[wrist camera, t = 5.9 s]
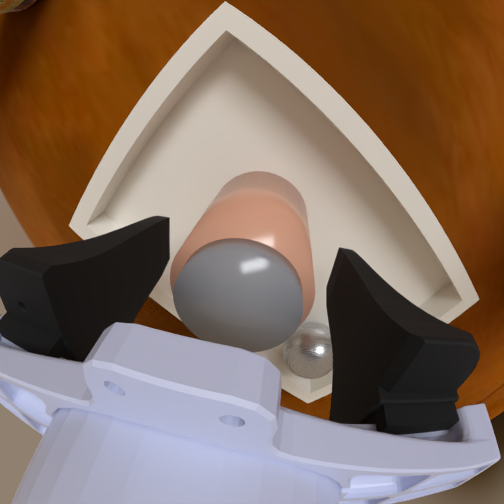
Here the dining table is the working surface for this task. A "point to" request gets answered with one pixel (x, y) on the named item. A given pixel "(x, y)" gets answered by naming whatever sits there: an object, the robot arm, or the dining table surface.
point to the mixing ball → (309, 351)
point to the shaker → (247, 265)
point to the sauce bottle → (15, 5)
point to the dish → (271, 171)
